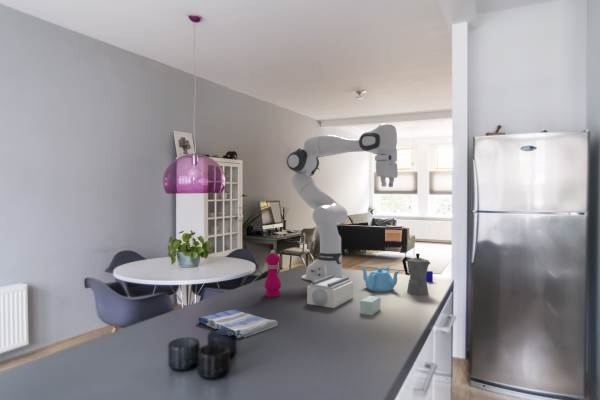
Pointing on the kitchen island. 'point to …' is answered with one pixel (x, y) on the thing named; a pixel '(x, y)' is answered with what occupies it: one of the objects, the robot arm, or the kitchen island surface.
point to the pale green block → (369, 305)
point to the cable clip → (429, 276)
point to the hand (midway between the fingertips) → (387, 186)
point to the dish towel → (238, 322)
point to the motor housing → (330, 291)
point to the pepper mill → (272, 275)
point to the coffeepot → (416, 275)
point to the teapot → (380, 280)
